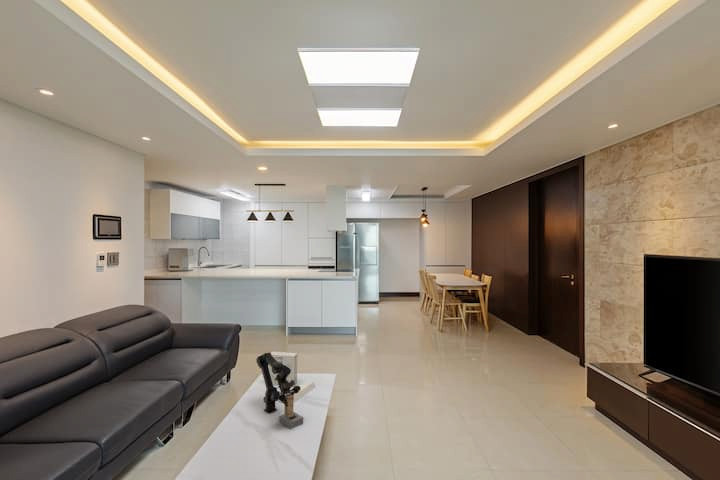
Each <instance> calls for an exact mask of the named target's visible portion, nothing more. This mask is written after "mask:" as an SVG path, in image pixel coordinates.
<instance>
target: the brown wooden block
mask: <svg viewBox="0 0 720 480" xmlns="http://www.w3.org/2000/svg"><path fill="white" fill-rule="evenodd" d="M285 399H286V402H287V405H288V406H287V407H286V406H285V405H284V415H286V416H287V417H288V418H289V417H292V416H293V412H294V403H293V401H294V396H293V395H291V394H285Z"/></svg>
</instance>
